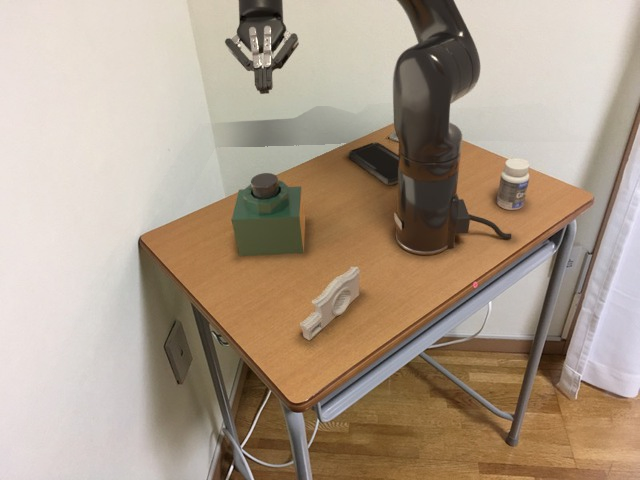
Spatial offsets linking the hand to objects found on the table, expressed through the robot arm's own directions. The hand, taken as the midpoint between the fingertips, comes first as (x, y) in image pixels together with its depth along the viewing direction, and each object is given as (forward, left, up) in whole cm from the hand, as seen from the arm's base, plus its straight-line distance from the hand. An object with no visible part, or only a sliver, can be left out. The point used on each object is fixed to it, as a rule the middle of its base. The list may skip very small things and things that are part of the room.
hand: (264, 91), depth 87 cm
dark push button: (0, +12, -12) cm, 17 cm away
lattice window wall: (-10, +31, -22) cm, 40 cm away
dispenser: (0, +12, -22) cm, 25 cm away
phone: (-21, -11, -22) cm, 32 cm away
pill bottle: (-43, +5, -22) cm, 48 cm away
